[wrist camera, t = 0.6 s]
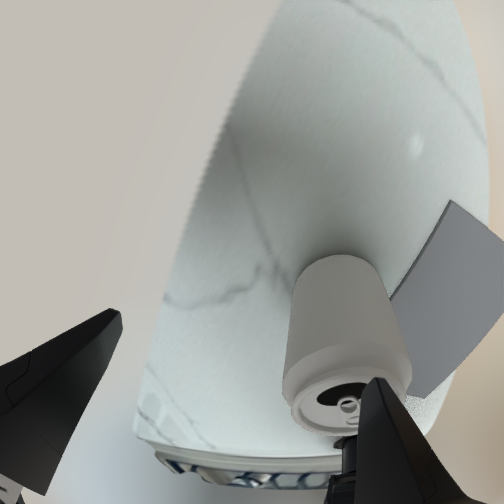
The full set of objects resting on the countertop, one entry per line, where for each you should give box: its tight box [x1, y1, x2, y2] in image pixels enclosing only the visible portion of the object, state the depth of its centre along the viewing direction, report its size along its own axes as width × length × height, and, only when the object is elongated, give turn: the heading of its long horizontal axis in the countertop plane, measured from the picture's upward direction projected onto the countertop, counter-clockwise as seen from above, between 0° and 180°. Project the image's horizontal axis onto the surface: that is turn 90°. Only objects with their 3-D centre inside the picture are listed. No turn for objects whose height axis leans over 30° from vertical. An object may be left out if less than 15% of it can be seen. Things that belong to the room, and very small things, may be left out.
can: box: [282, 255, 412, 436], centre depth 18 cm, size 8×8×12 cm
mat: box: [389, 200, 504, 398], centre depth 23 cm, size 20×14×1 cm
